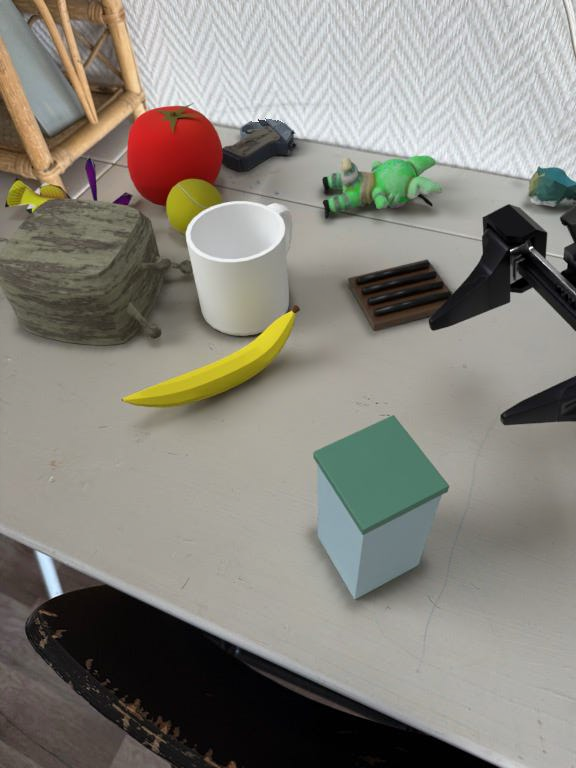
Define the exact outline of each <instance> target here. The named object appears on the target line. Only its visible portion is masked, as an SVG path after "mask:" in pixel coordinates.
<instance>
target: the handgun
mask: <svg viewBox="0 0 576 768" xmlns="http://www.w3.org/2000/svg"><path fill="white" fill-rule="evenodd" d="M265 119H266V118H265ZM258 121H259V122H252V121H251V120H249V121H248V122H247V123H245V124H243V125H242V126H241V127H240V128H239V134H240V138H241V139H240V140H238V141H237V142H236V143H234V144H233V145H232V144H231V145H225V146H224V147H222V152H223V158H222V164H223V165H225V166H227V167H229V168H231V169H233V170H236V171H237V172H241V171H243V172H245V171H246V172H247V171H250V170H251V169H253V168H254V167H256V166H257V165H259V164H260V163H262V162H264V161H265V160H267V159H268V158H270V157H273V156H277V155H282V156H289V155H290V153H291V152H293V149H294V148H296V147H297V144H296V143H295V135H296V134H297V132H295V130H294V129H292V128H291V127H290V126H289V125H288V124H287V123H286V122H284V121H283V122H284V123H283V122H281V121H279V120H277V121H276V120H272V119H266V121H265V120H259V119H258ZM252 130H255V131H252Z"/></svg>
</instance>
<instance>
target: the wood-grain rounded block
mask: <svg viewBox="0 0 576 768" xmlns="http://www.w3.org/2000/svg"><path fill="white" fill-rule="evenodd" d="M154 231H155V230H154V227H153V223H152V220H151V219H150V218H148V217H147V216H146V214H144V213H142V212H141V210H139V209H136V208H134V207H132V206H129V205H128V206H125V205H121V204H114V203H113V202H109V201H108V202H107V201H100V200H97V201H94V200H93V199H91V200H90V199H78V198H72V199H51V200H47V201H46V202H44V203H42V204H41V205H40V206H38V207H37V208H36V209H35V210H34V211H33V212H32V213H31V214H30V213H29V215H28V216H27V217H26V218H25V219H24V221H22V223H20V224H19V226H18V227H17V228H16V230H15V231H14V232H13V234H12V235H11V237H9V239H7V238H6V237H0V243H5V245H4V246H3V247H2V249H1V250H0V288H1V290H2V292H3V294H4V296H5V298H6V300H7V301H8V303H9V305H10V307H11V309H12V311H13V312H14V314H15V317H16V318H17V320H18V322H19V324H20V326H21V327H22V329H24V330H26V331H27V332H29V333H31V334H34V335H36V336H39V337H42V338H48V339H51V340H56V341H58V342H59V341H60V342H64V343H70V344H80V345H89V346H90V345H92V346H115V345H121V344H125V343H127V341H129V340H130V339H131V338H132V337H133V336H134V335H135V334H136V333H137V332H138V331H139V329H141V327H142V326H144V327H145V334H146V336H147V337H148V338H150V339H151V340H156V339H159V338H160V337H161V336H162V328H161V326H160V325H159V324H155V323H151V324H150V322H148V320H147V317H148V315H149V314H150V312H151V311H152V309H153V308H154V306H155V303H156V301H157V299H158V297H159V295H160V292H161V291H162V287H163V284H164V281H165V273H168V272H170V271H171V270H172V269H176V270H180V272H181V273H182V274H184V275H191V274H193V269H192V264H191V260H186V259H185V260H183V261H181V262H180V263H177V262H172V260H171V259H170V258H169V257H166V256H160V252H159V248H158V243H157V239H156V235H155V232H154Z"/></svg>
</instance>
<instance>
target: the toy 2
mask: <svg viewBox="0 0 576 768" xmlns="http://www.w3.org/2000/svg"><path fill="white" fill-rule="evenodd" d="M436 164H437V163H436V159H435V158H434V157H433V156H429V155H414V156H411V157H409V158H407V160H404V159H401V158H391V159H387V160H385V161H384V162H382V161H379V160H375V161H373V162H372V164H371V171H370V172H369V171H360V170H359V169H358V166H357V165H356V164H355V163H354V162H352V160H351V159H350V158H349V157H343V158H342V160H341V168H340V172H333V173H331V174H330V175H329V176H323V177H322V179H321V182H322V186H323V189H324V190H323V193H324V195H325V196H326V195H329V194H330V193H329V192H330V191H329V189H332V190H333V189H334V190H338V189H342V193H341V194H340V195H335V194H334V195H333V196H331V198H329V199H323V200H322V205H323V208H324V209H323V210H324V218H325V219H328V218H329V217H330V212H334V213H340V212H343V211H349V210H351V209H353V208H356V207H363V208H364V207H365V205H366V204H368V205H370V204H371V203H372V202H374V204H375V207H376V209H377V210H381V209H387V208H388V207H390V208H391V209H397V208H400V207H403V206H404V205H406V203H408V202H409V201H410V200H414V199H416V198H420V199H421V200H423V202H424V203H425V204H426V205H428V206H430V207H434V204H433V203H432V201H431V200H429V198H427V197H426V196H430V195H434V194H441V193H443V186H441V185H440V184H438V183H437V182H435V181H433V180H432V179H430V178H428V177H425V176H421V175H422V174H423V173H424V172H426V171H427V170H429V169H431V168H433V167H435V166H436ZM424 195H426V196H424Z"/></svg>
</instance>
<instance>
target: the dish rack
mask: <svg viewBox="0 0 576 768" xmlns="http://www.w3.org/2000/svg"><path fill="white" fill-rule="evenodd" d="M347 285H348V287H349V290H350V291H351V293H352V294H353V296H354V298H355V299H356V301H357V303H358V305H359V306H360V308H361V310H362V312H363V314H364V315H365V317H366V319H367V321H368V323H369V324H370V326H371V328H372V330H373V331H374V332H375V331H378V330H382V329H387V328H390V327H395V326H397V325H402V324H406V323H409V322H414V321H417V320H421V319H425V318H431V317H432V315H433V314H434V313H435V312H436V311H437V310H438V309H439V308H440V307H441V306H442V305H443V304H444V303H445V301H446V300H447V299H448V298H449V297H450V296H451V295H452V294H453V292H452V291H451V289H450V288H449V287H448V286H447V284H446V283H445V282H444V280H443V279H442V277H441V276H440V274H439V273H438V271H437V270H436V269H435V268H434V266H433V265H432V263H431V261H430V260H429V259H423V260H418V261H413V262H411V263H406V264H402V265H398V266H394V267H389V268H384V269H381V270H377V271H373V272H369V273H364V274H360V275H356V276H351V277H348V279H347Z"/></svg>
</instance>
